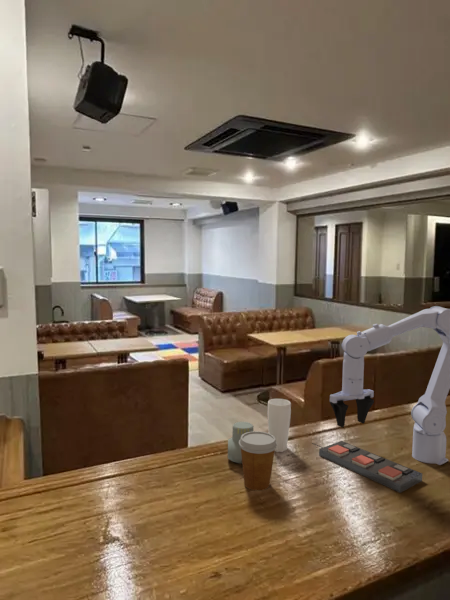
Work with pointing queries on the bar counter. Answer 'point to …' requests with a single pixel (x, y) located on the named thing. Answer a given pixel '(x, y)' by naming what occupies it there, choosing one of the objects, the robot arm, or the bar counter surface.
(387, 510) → the bar counter surface
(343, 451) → the button
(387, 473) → the button
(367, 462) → the button
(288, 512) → the bar counter surface
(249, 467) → the disposable coffee cup
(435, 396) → the robot arm
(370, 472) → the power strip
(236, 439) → the air freshener
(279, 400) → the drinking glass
